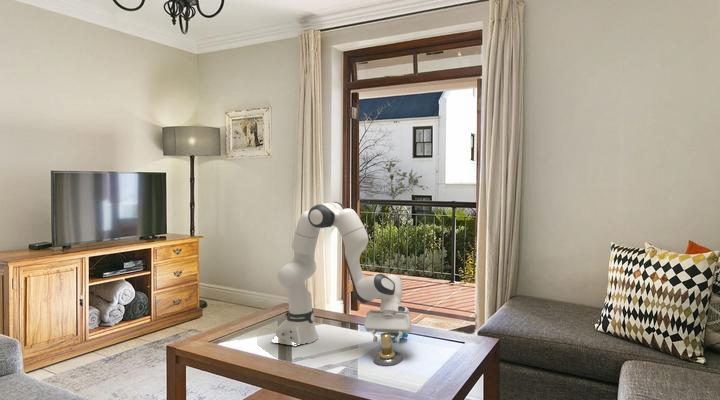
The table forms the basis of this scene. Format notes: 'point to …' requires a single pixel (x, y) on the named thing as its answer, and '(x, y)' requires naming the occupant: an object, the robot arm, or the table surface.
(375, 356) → the dark grey flat disc
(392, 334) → the teal coral
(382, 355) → the gold flanged cylinder
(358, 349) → the table surface
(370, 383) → the table surface
